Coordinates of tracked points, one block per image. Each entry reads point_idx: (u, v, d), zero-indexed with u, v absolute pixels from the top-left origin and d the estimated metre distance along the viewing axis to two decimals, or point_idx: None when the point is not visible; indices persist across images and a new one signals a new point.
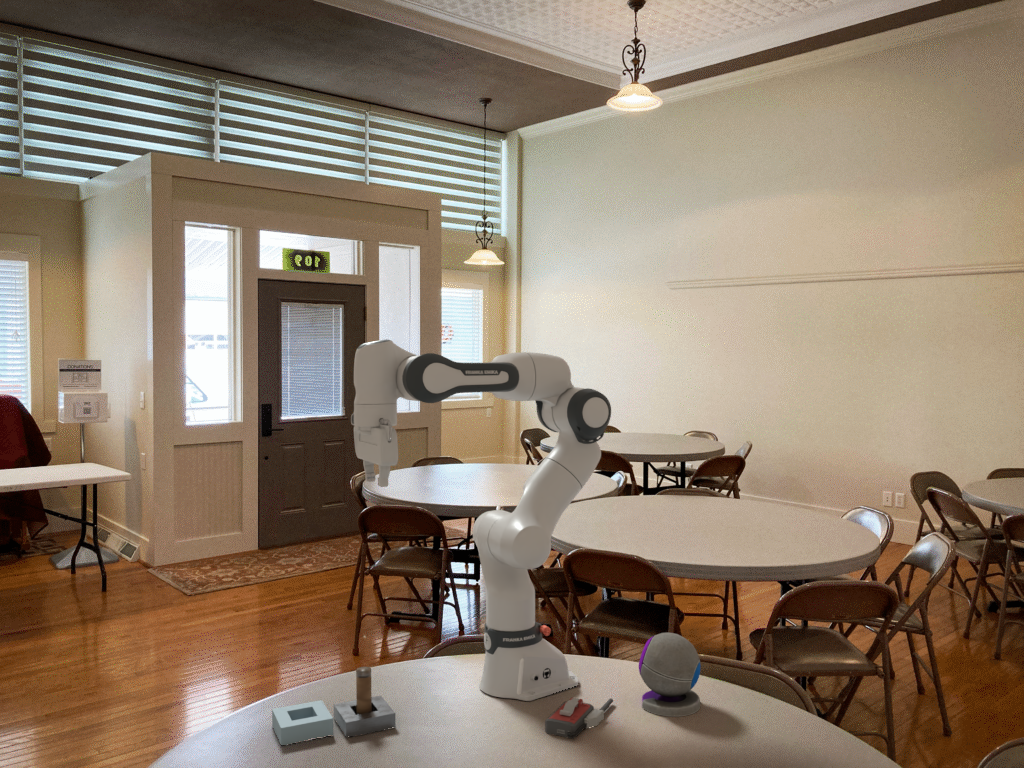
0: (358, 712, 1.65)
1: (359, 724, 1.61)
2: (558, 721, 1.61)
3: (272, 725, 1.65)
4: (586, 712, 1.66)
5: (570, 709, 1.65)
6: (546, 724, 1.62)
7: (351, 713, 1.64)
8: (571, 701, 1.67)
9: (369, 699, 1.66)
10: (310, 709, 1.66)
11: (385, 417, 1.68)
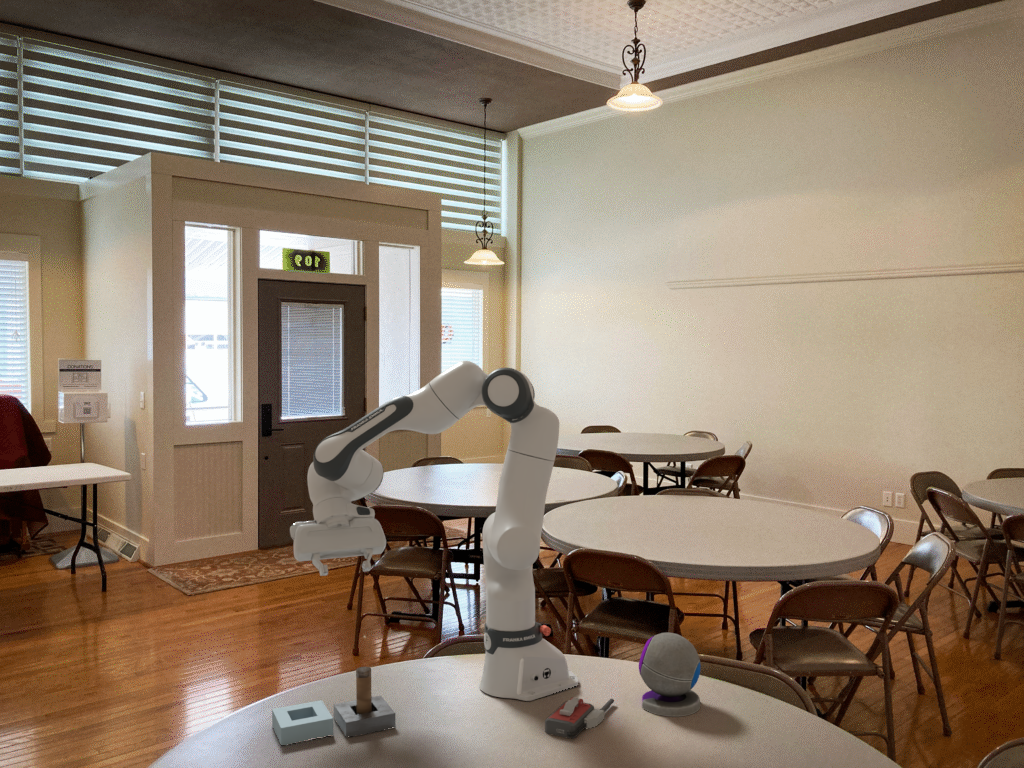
0: (358, 712, 1.65)
1: (359, 724, 1.61)
2: (558, 721, 1.61)
3: (272, 725, 1.65)
4: (586, 712, 1.65)
5: (570, 709, 1.64)
6: (545, 724, 1.62)
7: (351, 713, 1.64)
8: (571, 701, 1.67)
9: (369, 699, 1.66)
10: (310, 709, 1.66)
11: (316, 518, 1.84)
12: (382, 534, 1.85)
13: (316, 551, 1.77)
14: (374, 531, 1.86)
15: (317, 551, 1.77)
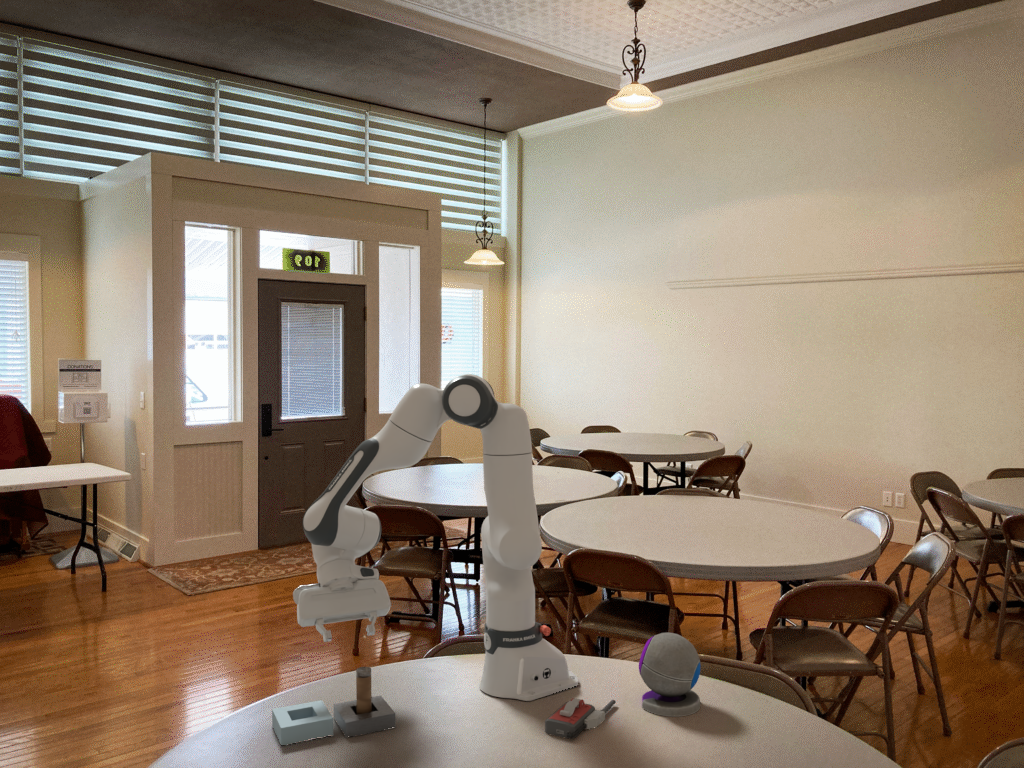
0: (358, 712, 1.65)
1: (359, 724, 1.61)
2: (558, 721, 1.60)
3: (272, 725, 1.65)
4: (587, 713, 1.65)
5: (570, 710, 1.64)
6: (545, 725, 1.62)
7: (351, 713, 1.64)
8: (572, 702, 1.67)
9: (369, 699, 1.66)
10: (310, 709, 1.66)
11: (319, 580, 1.82)
12: (386, 596, 1.83)
13: (319, 616, 1.75)
14: (378, 592, 1.84)
15: (320, 616, 1.75)
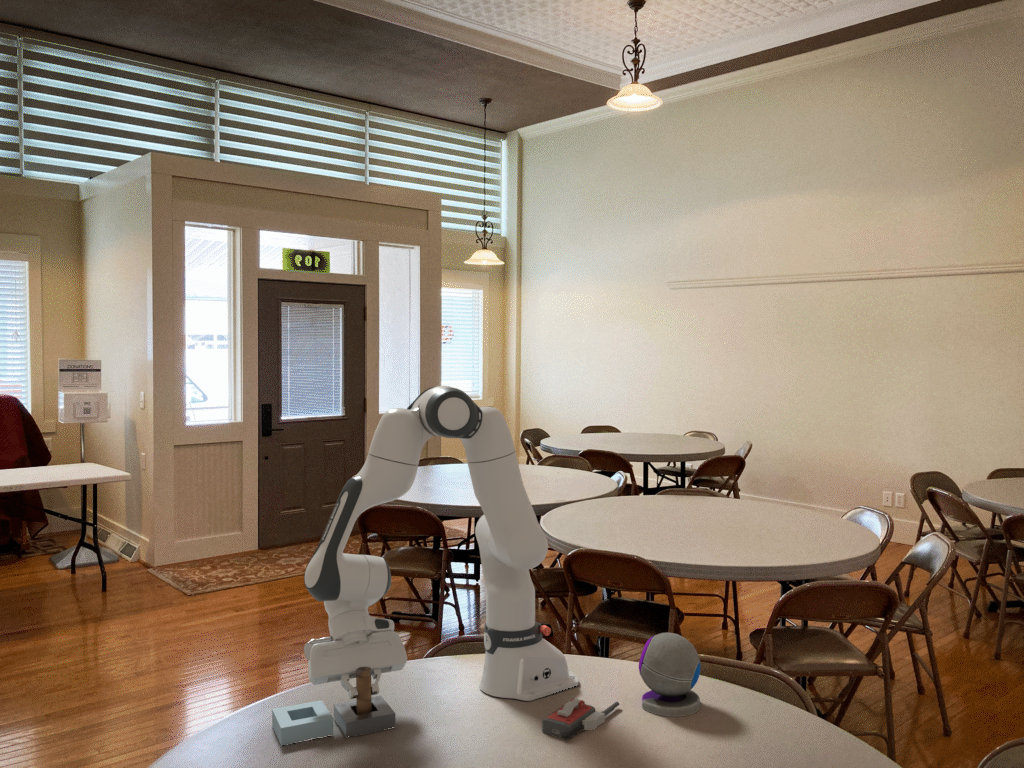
0: (358, 712, 1.65)
1: (359, 724, 1.61)
2: (554, 721, 1.61)
3: (272, 725, 1.65)
4: (585, 714, 1.65)
5: (569, 710, 1.64)
6: (542, 724, 1.62)
7: (351, 713, 1.64)
8: (571, 702, 1.66)
9: (369, 699, 1.66)
10: (310, 709, 1.66)
11: (332, 633, 1.72)
12: (402, 649, 1.73)
13: (332, 674, 1.65)
14: (394, 646, 1.74)
15: (333, 674, 1.65)
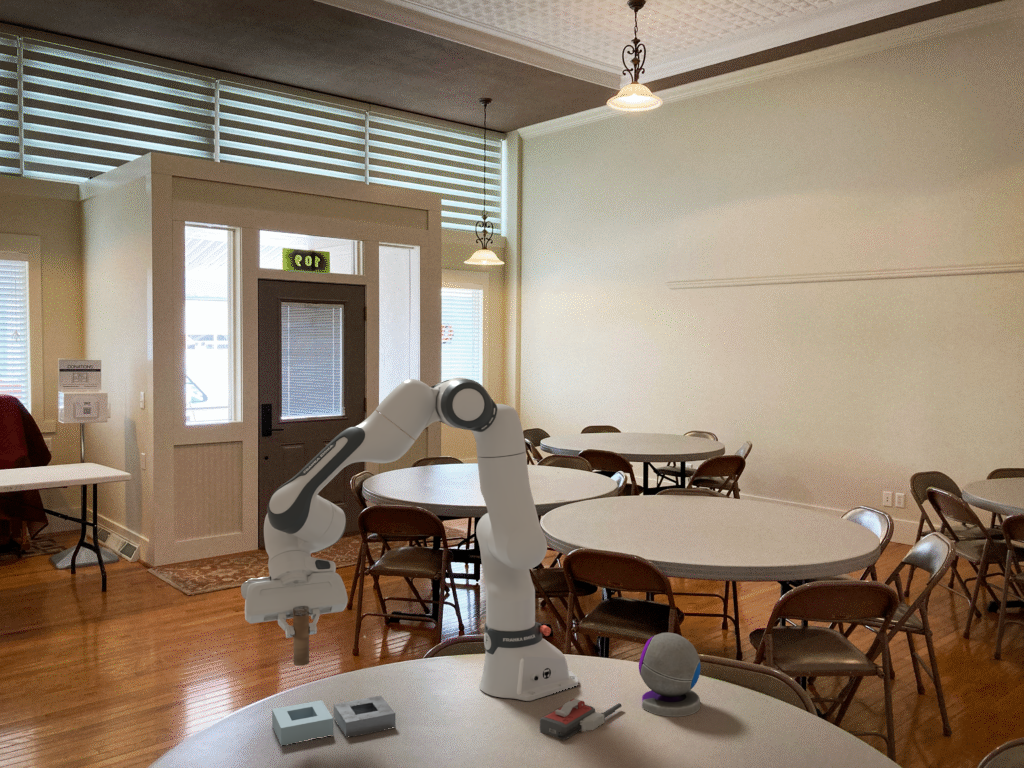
0: (295, 651, 1.62)
1: (359, 724, 1.61)
2: (551, 720, 1.61)
3: (272, 725, 1.65)
4: (584, 714, 1.64)
5: (567, 710, 1.64)
6: (540, 723, 1.62)
7: (351, 713, 1.64)
8: (571, 702, 1.66)
9: (306, 638, 1.62)
10: (310, 709, 1.66)
11: (270, 573, 1.69)
12: (343, 590, 1.70)
13: (268, 612, 1.62)
14: (335, 587, 1.70)
15: (270, 612, 1.62)
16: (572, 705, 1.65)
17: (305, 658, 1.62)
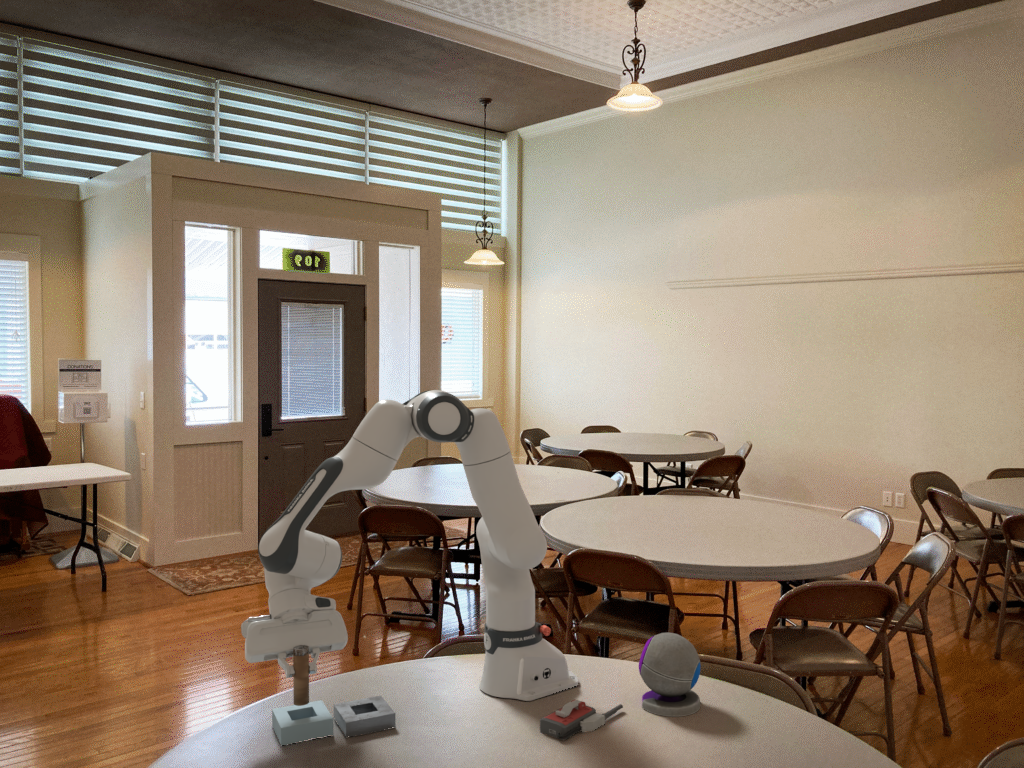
0: (295, 691, 1.62)
1: (359, 724, 1.61)
2: (550, 721, 1.61)
3: (272, 725, 1.65)
4: (584, 715, 1.64)
5: (567, 710, 1.64)
6: (540, 723, 1.62)
7: (351, 713, 1.64)
8: (571, 703, 1.66)
9: (306, 678, 1.62)
10: (310, 709, 1.66)
11: (271, 612, 1.69)
12: (343, 628, 1.70)
13: (269, 652, 1.62)
14: (335, 625, 1.70)
15: (270, 652, 1.62)
16: (572, 706, 1.65)
17: (305, 698, 1.62)
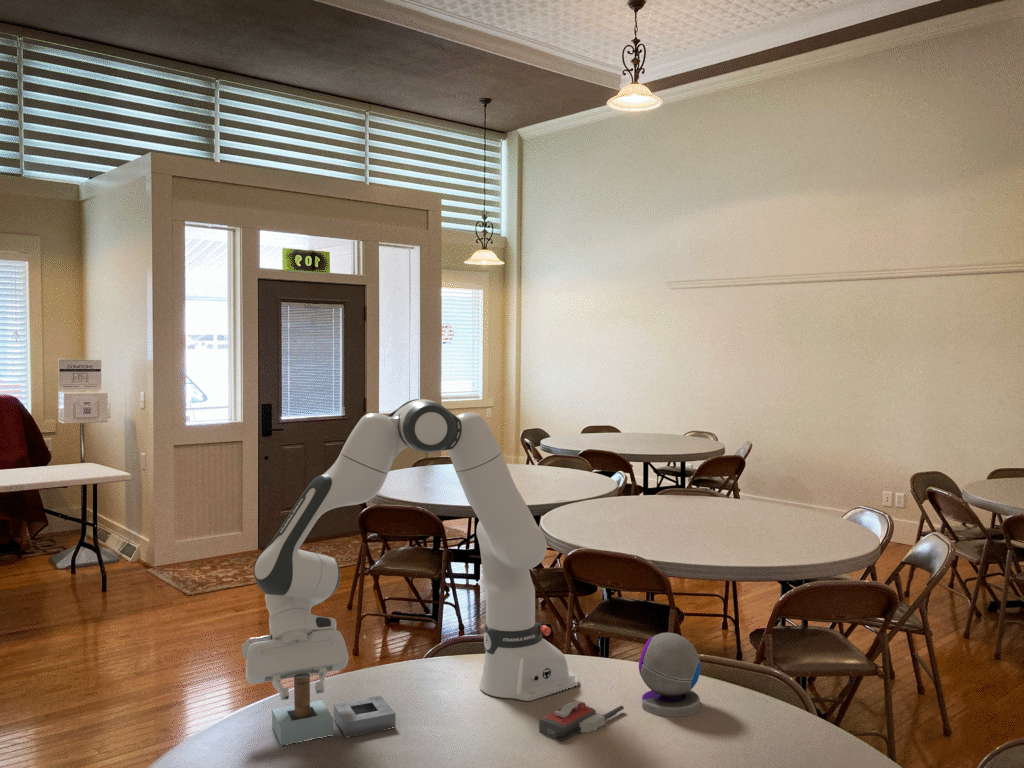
0: None
1: (359, 724, 1.61)
2: (549, 721, 1.61)
3: (272, 725, 1.65)
4: (584, 716, 1.64)
5: (567, 711, 1.64)
6: (539, 723, 1.62)
7: (351, 713, 1.64)
8: (571, 703, 1.66)
9: (307, 706, 1.62)
10: (310, 709, 1.66)
11: (271, 632, 1.69)
12: (344, 648, 1.70)
13: (269, 673, 1.62)
14: (335, 644, 1.70)
15: (270, 673, 1.62)
16: (572, 706, 1.64)
17: None
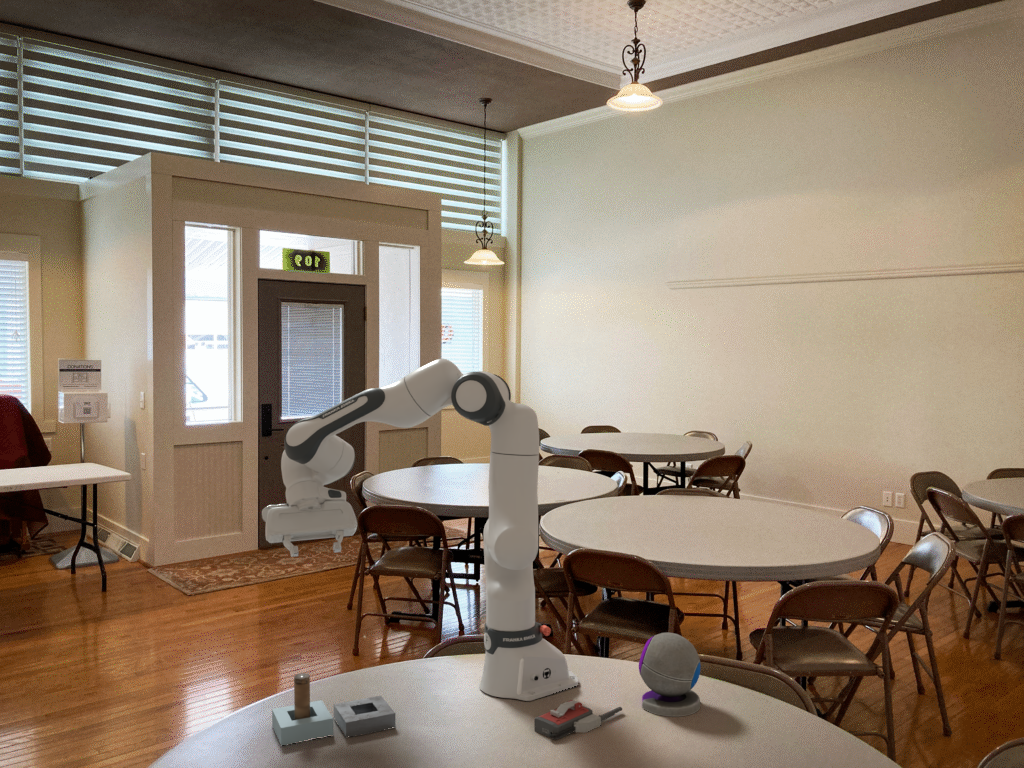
0: None
1: (359, 724, 1.61)
2: (544, 720, 1.61)
3: (272, 725, 1.65)
4: (580, 716, 1.64)
5: (562, 710, 1.64)
6: None
7: (351, 713, 1.64)
8: (568, 703, 1.66)
9: (307, 706, 1.62)
10: (310, 709, 1.66)
11: (288, 501, 1.88)
12: (353, 516, 1.89)
13: (287, 533, 1.81)
14: (345, 513, 1.89)
15: (288, 533, 1.81)
16: (568, 706, 1.64)
17: None
